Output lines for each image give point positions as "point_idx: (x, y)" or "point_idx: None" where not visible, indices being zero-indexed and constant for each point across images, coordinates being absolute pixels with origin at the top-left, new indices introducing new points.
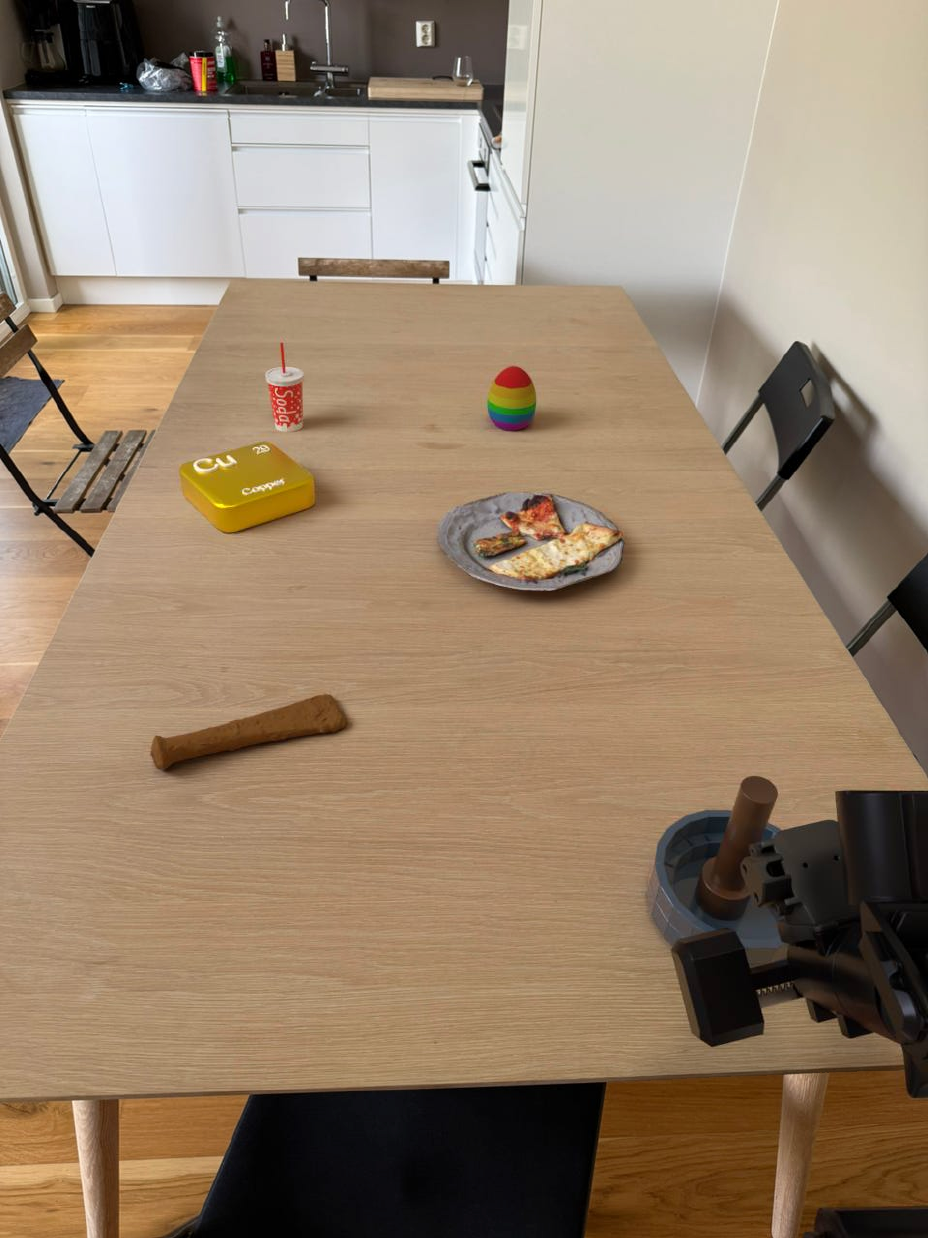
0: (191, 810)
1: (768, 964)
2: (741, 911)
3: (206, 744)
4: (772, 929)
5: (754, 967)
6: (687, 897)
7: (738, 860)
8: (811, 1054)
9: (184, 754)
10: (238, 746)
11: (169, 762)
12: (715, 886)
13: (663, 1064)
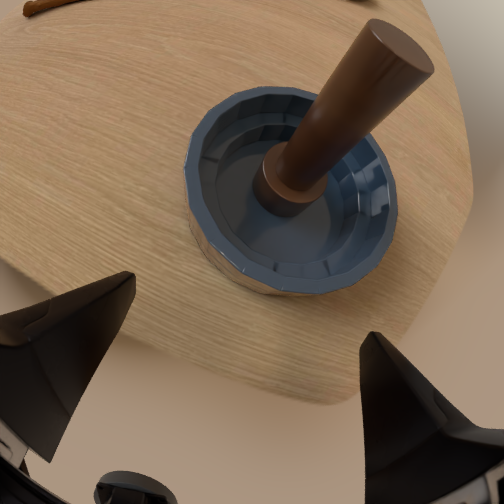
0: (17, 34)
1: (36, 490)
2: (291, 213)
3: (43, 2)
4: (312, 247)
5: (4, 462)
6: (247, 169)
7: (309, 151)
8: (253, 380)
9: (34, 8)
10: (58, 3)
11: (27, 12)
12: (272, 171)
13: None
